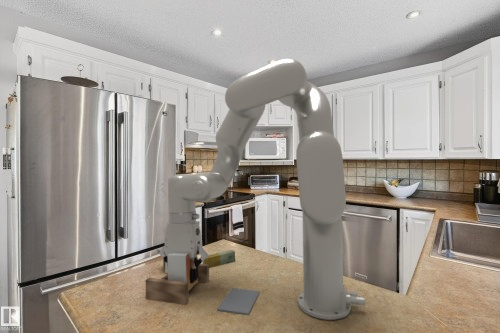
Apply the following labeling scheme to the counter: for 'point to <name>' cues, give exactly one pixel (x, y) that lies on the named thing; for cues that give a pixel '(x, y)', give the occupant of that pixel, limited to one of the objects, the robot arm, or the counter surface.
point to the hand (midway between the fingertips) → (183, 279)
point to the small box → (179, 268)
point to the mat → (239, 301)
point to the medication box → (220, 258)
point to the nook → (173, 287)
